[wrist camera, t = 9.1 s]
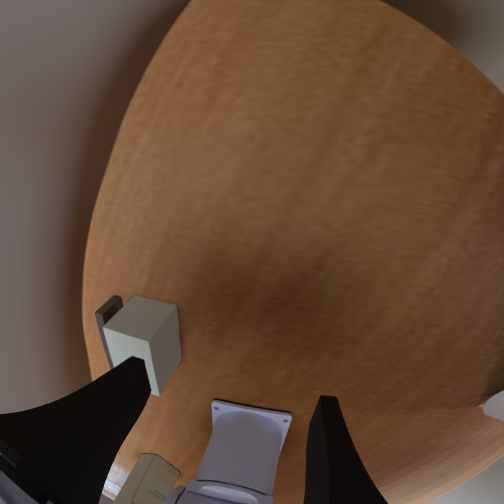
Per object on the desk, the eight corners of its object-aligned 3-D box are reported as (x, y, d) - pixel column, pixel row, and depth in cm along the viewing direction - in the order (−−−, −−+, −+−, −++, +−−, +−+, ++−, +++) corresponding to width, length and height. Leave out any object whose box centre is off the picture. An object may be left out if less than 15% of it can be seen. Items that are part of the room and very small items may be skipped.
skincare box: (181, 471, 36) (157, 526, 25) (163, 470, 38) (139, 521, 27) (156, 453, 35) (127, 510, 24) (139, 452, 36) (111, 504, 25)
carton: (177, 304, 22) (148, 341, 18) (182, 358, 25) (159, 396, 20) (134, 294, 23) (101, 326, 18) (142, 347, 25) (117, 381, 21)
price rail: (136, 363, 26) (122, 382, 23) (126, 360, 26) (112, 378, 24) (122, 297, 23) (103, 315, 20) (112, 294, 23) (92, 311, 21)
